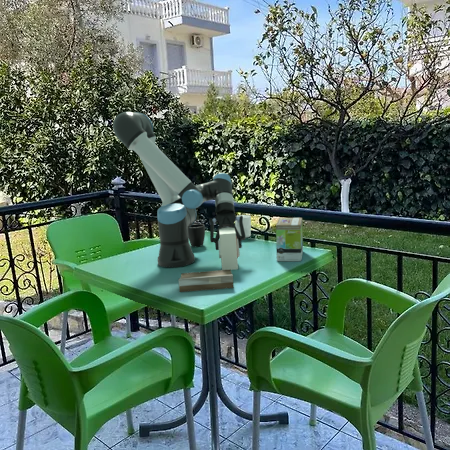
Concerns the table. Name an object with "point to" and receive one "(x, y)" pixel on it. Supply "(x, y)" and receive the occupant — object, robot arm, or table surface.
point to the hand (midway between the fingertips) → (229, 255)
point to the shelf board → (206, 280)
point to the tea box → (289, 239)
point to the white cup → (245, 225)
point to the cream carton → (228, 248)
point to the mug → (196, 235)
